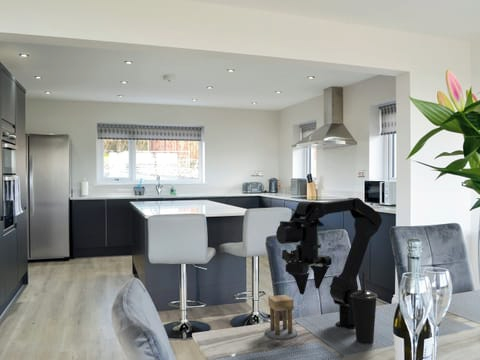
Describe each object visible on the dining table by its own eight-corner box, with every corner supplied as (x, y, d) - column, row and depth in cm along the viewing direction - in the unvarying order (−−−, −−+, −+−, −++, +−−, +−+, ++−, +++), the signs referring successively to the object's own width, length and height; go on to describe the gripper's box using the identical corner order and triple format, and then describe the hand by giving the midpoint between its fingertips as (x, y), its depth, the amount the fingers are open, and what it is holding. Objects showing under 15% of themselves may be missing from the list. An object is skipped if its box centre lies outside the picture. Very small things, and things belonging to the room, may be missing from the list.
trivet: (277, 325, 139) (277, 324, 139) (303, 332, 132) (303, 330, 132) (258, 334, 131) (258, 332, 131) (285, 341, 124) (285, 339, 124)
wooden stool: (286, 327, 135) (285, 294, 135) (294, 333, 129) (293, 299, 130) (268, 329, 133) (268, 296, 134) (275, 336, 128) (275, 301, 128)
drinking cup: (348, 343, 123) (347, 274, 123) (354, 334, 130) (353, 269, 130) (375, 347, 119) (374, 276, 119) (380, 338, 126) (379, 271, 126)
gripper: (302, 236, 144) (303, 282, 144) (270, 242, 130) (271, 293, 130) (331, 238, 137) (332, 286, 137) (301, 245, 123) (302, 299, 123)
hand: (309, 291), depth 132 cm, fingers open, 9 cm apart
